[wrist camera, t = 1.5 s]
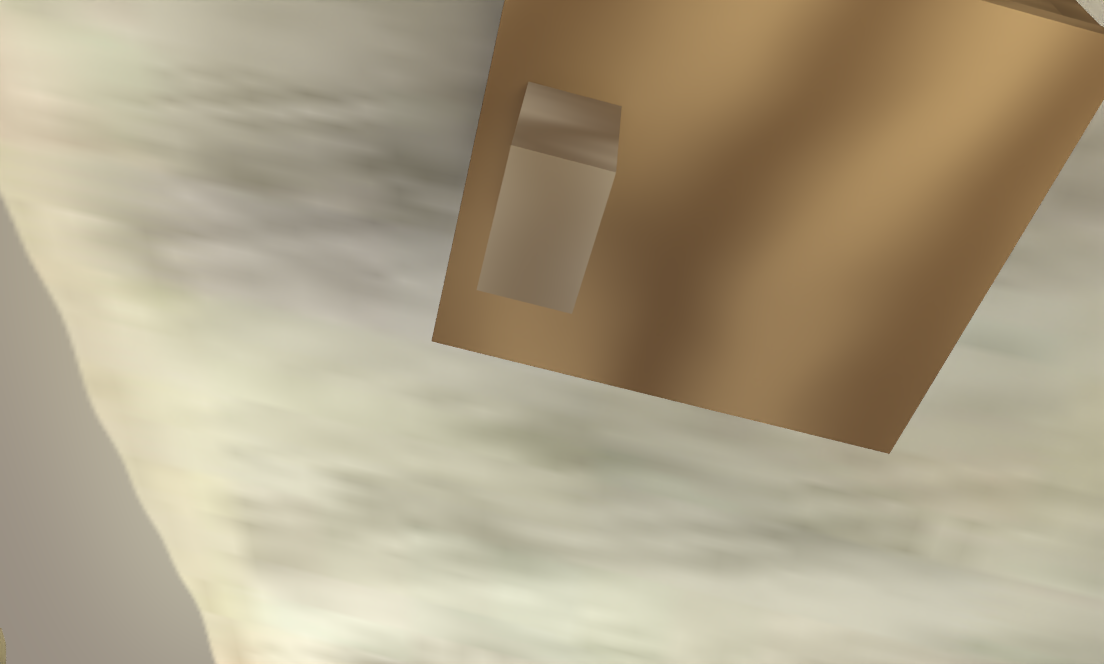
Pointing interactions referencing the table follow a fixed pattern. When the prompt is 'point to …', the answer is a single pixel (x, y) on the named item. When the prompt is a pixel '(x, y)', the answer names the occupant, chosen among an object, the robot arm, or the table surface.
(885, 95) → the lid
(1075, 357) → the table surface
